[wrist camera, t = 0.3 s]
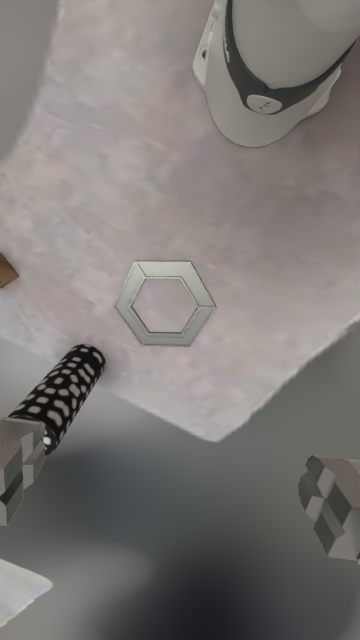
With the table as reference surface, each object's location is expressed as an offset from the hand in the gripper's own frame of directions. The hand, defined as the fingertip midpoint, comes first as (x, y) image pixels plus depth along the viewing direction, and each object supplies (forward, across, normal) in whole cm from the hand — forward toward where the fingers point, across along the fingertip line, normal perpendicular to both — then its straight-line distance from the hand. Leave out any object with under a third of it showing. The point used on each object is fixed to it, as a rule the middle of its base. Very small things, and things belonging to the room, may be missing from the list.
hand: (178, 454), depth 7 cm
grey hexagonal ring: (+41, +2, +5) cm, 41 cm away
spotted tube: (+43, +17, +21) cm, 51 cm away
